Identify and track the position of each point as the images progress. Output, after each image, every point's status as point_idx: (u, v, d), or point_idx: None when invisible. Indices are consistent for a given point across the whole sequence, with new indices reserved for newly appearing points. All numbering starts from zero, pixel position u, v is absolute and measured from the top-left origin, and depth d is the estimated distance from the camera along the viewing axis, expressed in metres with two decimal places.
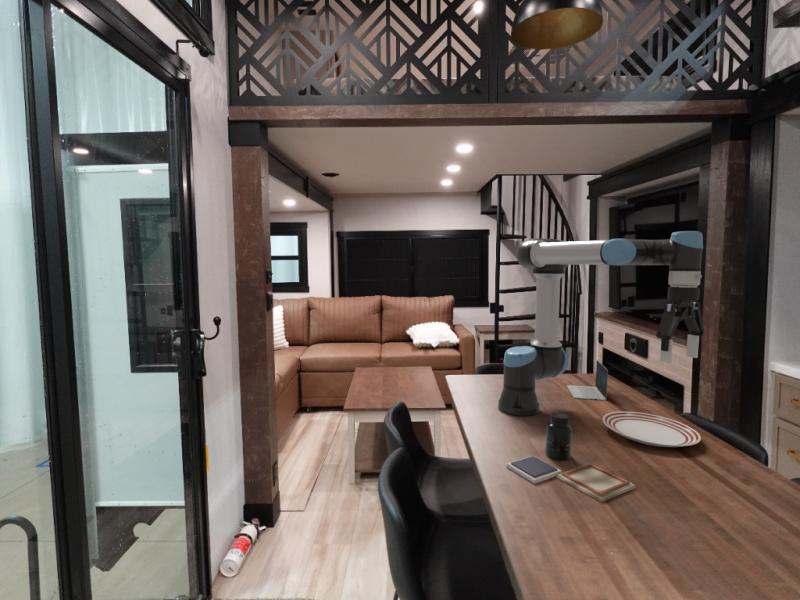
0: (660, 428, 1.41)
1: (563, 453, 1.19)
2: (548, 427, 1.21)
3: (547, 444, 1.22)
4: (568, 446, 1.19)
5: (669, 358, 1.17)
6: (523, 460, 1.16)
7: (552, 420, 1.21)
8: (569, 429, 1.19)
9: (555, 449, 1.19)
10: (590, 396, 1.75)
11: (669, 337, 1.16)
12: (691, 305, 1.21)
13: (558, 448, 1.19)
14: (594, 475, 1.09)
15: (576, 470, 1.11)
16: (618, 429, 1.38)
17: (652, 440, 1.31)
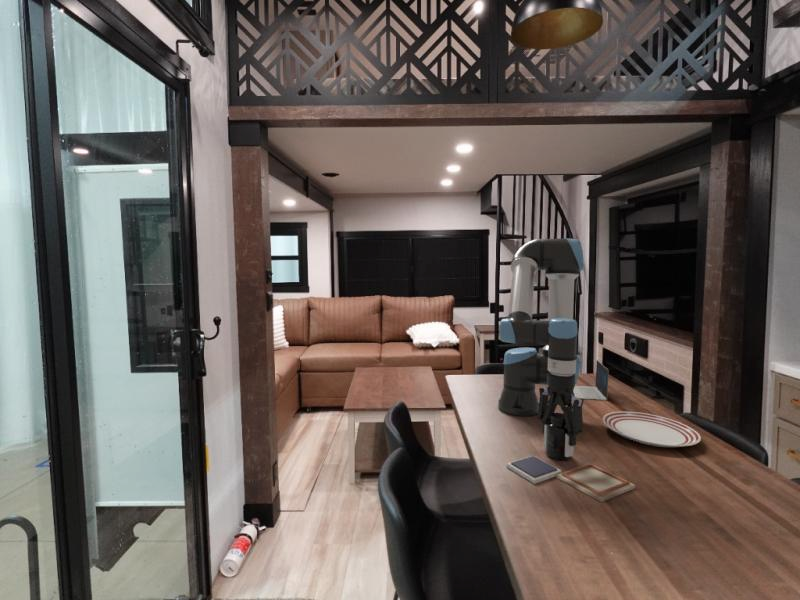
0: (660, 428, 1.41)
1: (563, 452, 1.19)
2: (548, 427, 1.21)
3: (547, 444, 1.22)
4: None
5: None
6: (523, 460, 1.16)
7: (552, 420, 1.21)
8: None
9: (555, 449, 1.19)
10: (591, 396, 1.75)
11: (542, 421, 1.25)
12: (564, 394, 1.18)
13: (558, 448, 1.19)
14: (594, 475, 1.09)
15: (576, 470, 1.11)
16: (618, 429, 1.38)
17: (652, 440, 1.31)
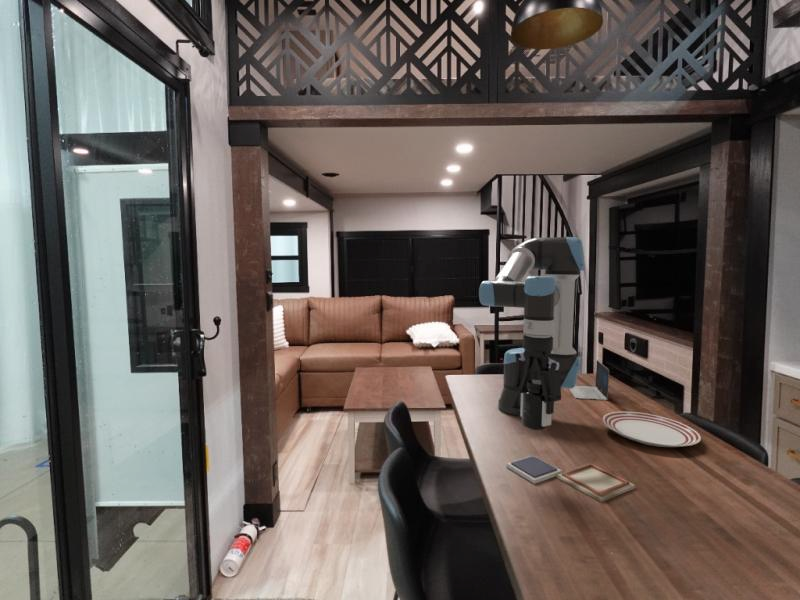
0: (660, 428, 1.41)
1: (539, 422, 1.09)
2: (524, 394, 1.11)
3: (523, 413, 1.12)
4: None
5: None
6: (523, 460, 1.16)
7: (528, 387, 1.11)
8: None
9: (531, 418, 1.09)
10: (591, 396, 1.75)
11: (519, 389, 1.15)
12: (541, 358, 1.08)
13: (535, 417, 1.09)
14: (594, 475, 1.09)
15: (576, 470, 1.11)
16: (618, 429, 1.38)
17: (652, 440, 1.31)
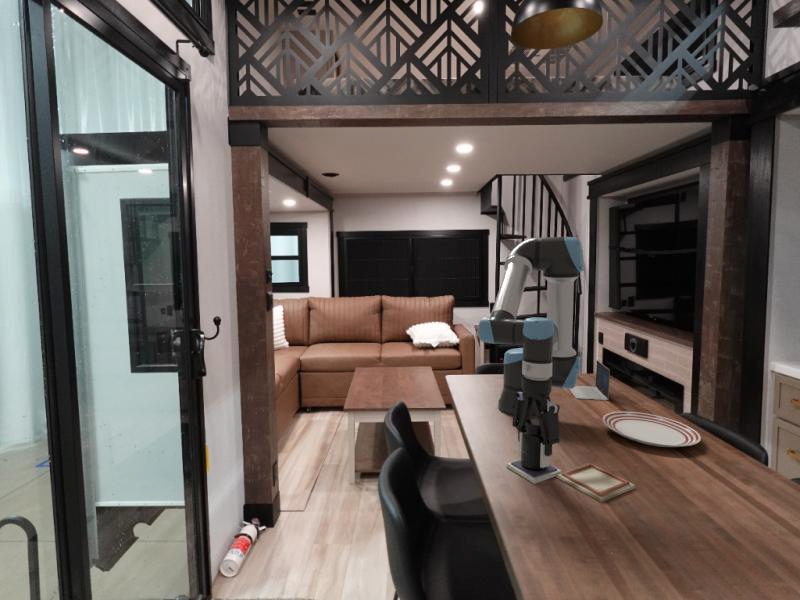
0: (660, 428, 1.41)
1: (538, 463, 1.10)
2: (523, 435, 1.12)
3: (522, 453, 1.13)
4: None
5: None
6: None
7: (527, 427, 1.12)
8: None
9: (530, 458, 1.10)
10: (592, 396, 1.74)
11: (518, 428, 1.16)
12: (540, 400, 1.09)
13: (533, 458, 1.10)
14: (594, 475, 1.09)
15: (576, 470, 1.11)
16: (618, 429, 1.38)
17: (652, 440, 1.31)
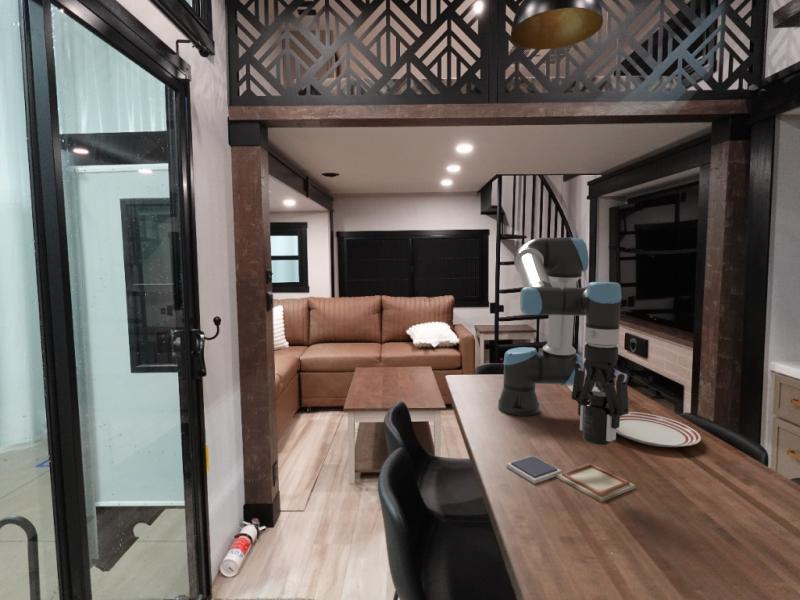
0: (660, 428, 1.41)
1: (604, 436, 1.03)
2: (586, 407, 1.05)
3: (584, 427, 1.06)
4: None
5: None
6: (523, 460, 1.16)
7: (591, 399, 1.05)
8: None
9: (595, 432, 1.03)
10: None
11: (578, 401, 1.09)
12: (606, 369, 1.02)
13: (599, 431, 1.03)
14: (594, 475, 1.09)
15: (576, 470, 1.11)
16: (618, 429, 1.38)
17: (652, 440, 1.31)
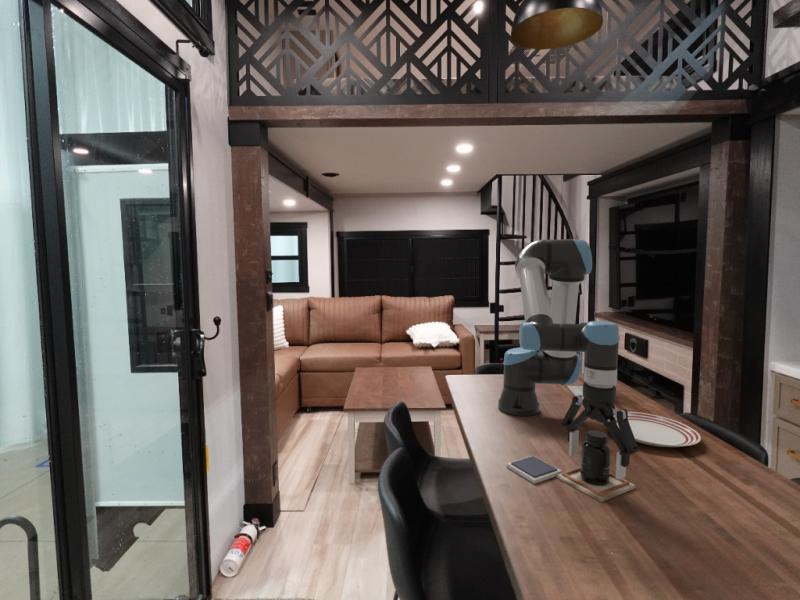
0: (660, 428, 1.41)
1: (601, 477, 1.04)
2: (584, 447, 1.06)
3: (582, 466, 1.07)
4: (608, 469, 1.04)
5: None
6: (523, 460, 1.16)
7: (589, 439, 1.06)
8: (608, 450, 1.04)
9: (593, 472, 1.04)
10: None
11: (568, 427, 1.13)
12: (604, 409, 1.03)
13: (596, 472, 1.04)
14: None
15: (576, 470, 1.11)
16: None
17: (652, 440, 1.31)
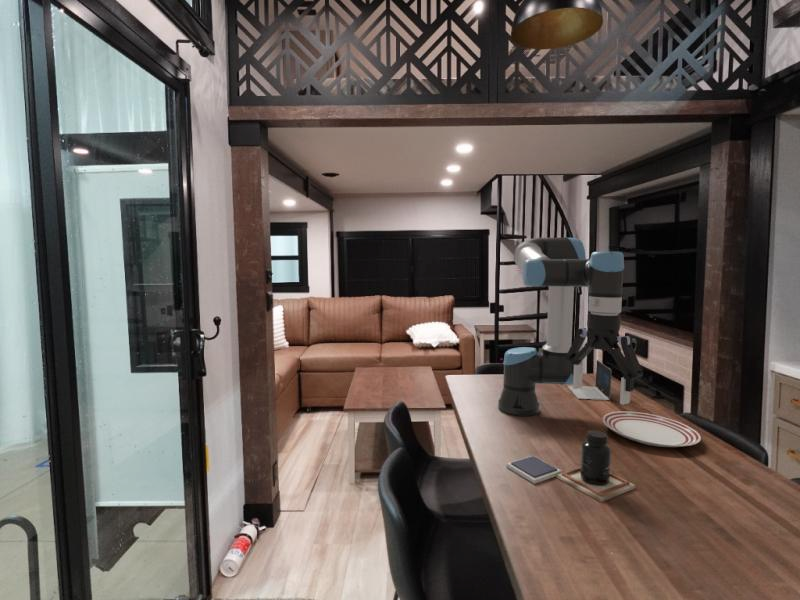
0: (660, 428, 1.41)
1: (601, 477, 1.04)
2: (584, 447, 1.06)
3: (582, 466, 1.07)
4: (608, 469, 1.04)
5: None
6: (523, 460, 1.16)
7: (588, 439, 1.06)
8: (608, 450, 1.04)
9: (593, 472, 1.04)
10: (593, 396, 1.74)
11: (572, 360, 1.14)
12: (609, 337, 1.04)
13: (596, 472, 1.04)
14: None
15: (576, 470, 1.11)
16: (618, 429, 1.38)
17: (652, 440, 1.31)
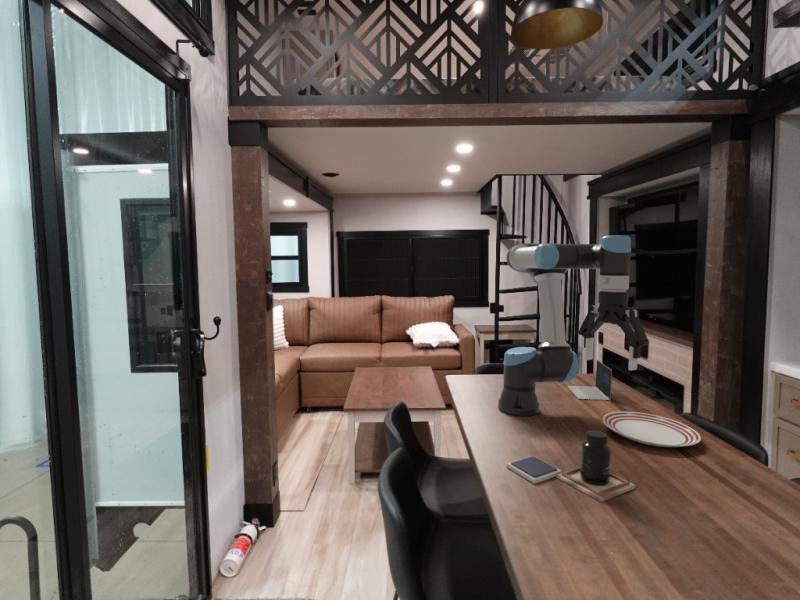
0: (660, 428, 1.41)
1: (601, 477, 1.04)
2: (584, 447, 1.06)
3: (582, 466, 1.07)
4: (608, 469, 1.04)
5: None
6: (523, 460, 1.16)
7: (588, 439, 1.06)
8: (608, 450, 1.04)
9: (593, 472, 1.04)
10: (594, 396, 1.74)
11: (584, 334, 1.27)
12: (618, 311, 1.17)
13: (596, 472, 1.04)
14: None
15: (576, 470, 1.11)
16: (618, 429, 1.38)
17: (652, 440, 1.31)
